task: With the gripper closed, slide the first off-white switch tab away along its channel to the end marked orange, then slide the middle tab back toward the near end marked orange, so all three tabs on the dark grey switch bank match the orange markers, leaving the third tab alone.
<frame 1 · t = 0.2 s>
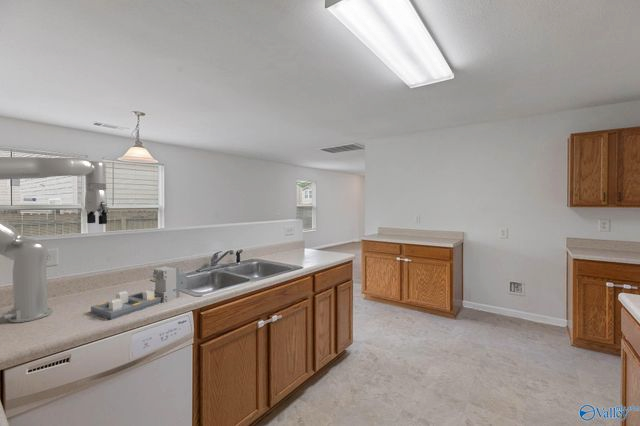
hand: (97, 223, 134), 36 cm above the worktop, tool pointing down, fingers open, 9 cm apart
switch bank: (127, 307, 125), on the worktop
tab 1: (115, 305, 117), point 4 cm above the worktop, slide at 0.0 cm
tab 2: (122, 297, 127), point 4 cm above the worktop, slide at 8.0 cm
tab 3: (148, 295, 129), point 4 cm above the worktop, slide at 0.0 cm
circuit breaker: (172, 297, 140), on the worktop
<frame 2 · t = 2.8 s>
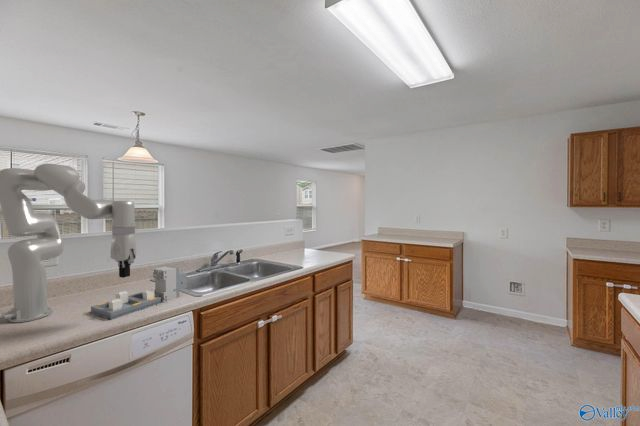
hand: (124, 276, 113), 17 cm above the worktop, tool pointing down, fingers closed
nothing on the worktop moved.
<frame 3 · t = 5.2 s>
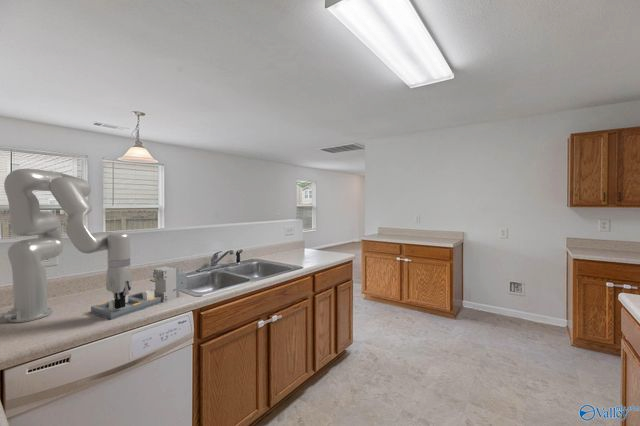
hand: (120, 307, 115), 4 cm above the worktop, tool pointing down, fingers closed
tab 1: (115, 305, 117), point 4 cm above the worktop, slide at 0.1 cm, touching gripper
everything else where it was.
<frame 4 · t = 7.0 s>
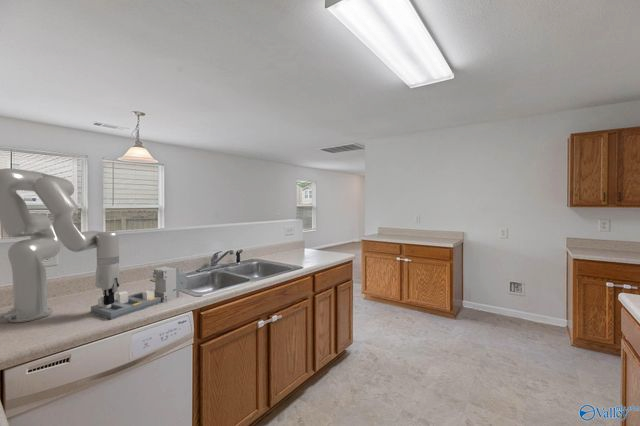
hand: (109, 303, 119), 4 cm above the worktop, tool pointing down, fingers closed
tab 1: (104, 302, 120), point 4 cm above the worktop, slide at 8.0 cm, touching gripper
everything else where it was.
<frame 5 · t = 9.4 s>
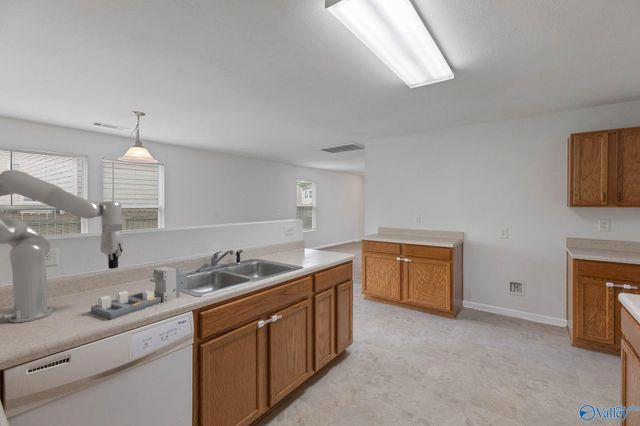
hand: (113, 268, 129), 17 cm above the worktop, tool pointing down, fingers closed
tab 1: (104, 302, 120), point 4 cm above the worktop, slide at 8.1 cm
everything else where it was.
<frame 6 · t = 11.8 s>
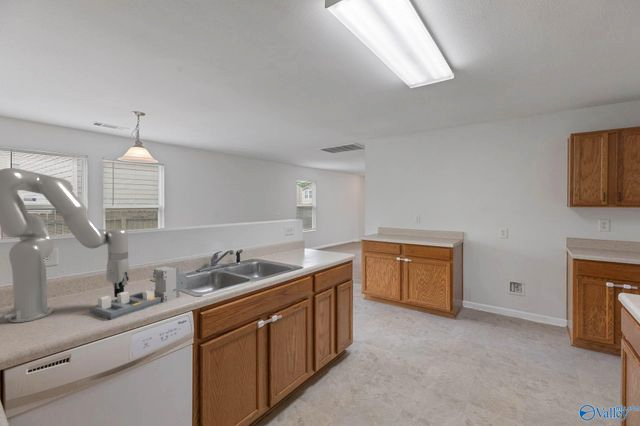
hand: (119, 296, 128), 4 cm above the worktop, tool pointing down, fingers closed
tab 2: (123, 297, 126), point 4 cm above the worktop, slide at 7.1 cm, touching gripper
everything else where it was.
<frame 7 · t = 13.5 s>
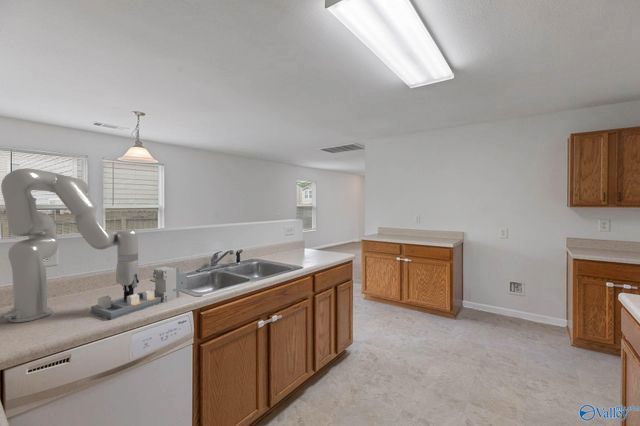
hand: (128, 299, 125), 4 cm above the worktop, tool pointing down, fingers closed
tab 2: (133, 300, 123), point 4 cm above the worktop, slide at -0.2 cm, touching gripper
everything else where it was.
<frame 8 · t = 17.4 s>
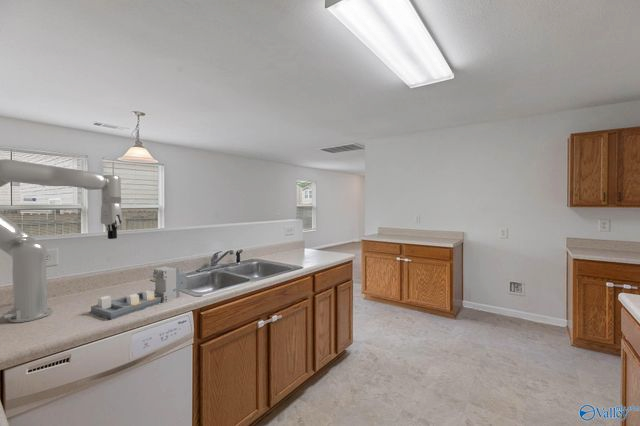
hand: (112, 238, 136), 29 cm above the worktop, tool pointing down, fingers closed
tab 2: (133, 300, 123), point 4 cm above the worktop, slide at -0.1 cm
everything else where it was.
at the end: tab 1 slide at 8.1 cm; tab 2 slide at -0.1 cm; tab 3 slide at 0.0 cm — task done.
